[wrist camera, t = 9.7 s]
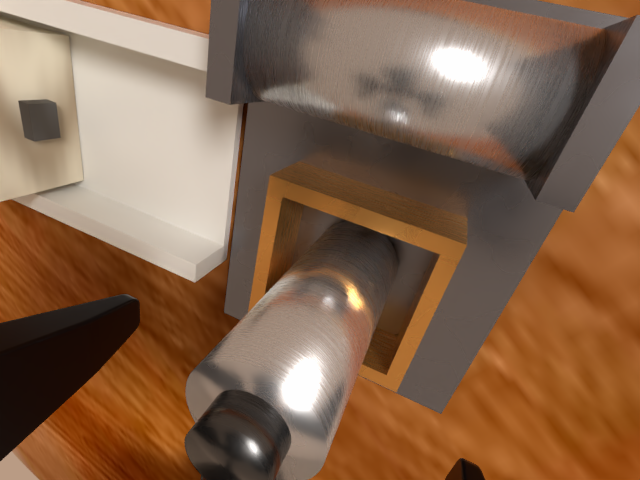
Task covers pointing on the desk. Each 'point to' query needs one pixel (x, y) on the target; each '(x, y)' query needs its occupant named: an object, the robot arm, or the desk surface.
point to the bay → (143, 137)
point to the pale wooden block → (36, 111)
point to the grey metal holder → (418, 151)
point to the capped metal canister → (291, 363)
